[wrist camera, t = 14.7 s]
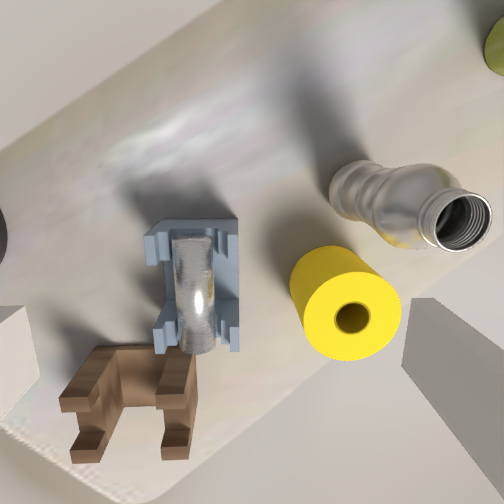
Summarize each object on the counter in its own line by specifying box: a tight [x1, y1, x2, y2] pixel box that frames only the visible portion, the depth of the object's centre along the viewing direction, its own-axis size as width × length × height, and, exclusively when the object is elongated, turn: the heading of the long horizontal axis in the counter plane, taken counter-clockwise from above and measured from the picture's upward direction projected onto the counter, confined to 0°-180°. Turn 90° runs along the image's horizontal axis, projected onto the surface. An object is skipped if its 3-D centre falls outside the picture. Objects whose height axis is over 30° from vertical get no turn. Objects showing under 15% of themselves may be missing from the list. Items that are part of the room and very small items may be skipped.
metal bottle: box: [329, 160, 492, 252], centre depth 29 cm, size 6×7×20 cm
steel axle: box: [172, 233, 216, 355], centre depth 34 cm, size 12×4×4 cm, turn 0°
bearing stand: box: [59, 344, 198, 464], centre depth 40 cm, size 9×13×10 cm
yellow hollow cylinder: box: [289, 246, 401, 361], centre depth 38 cm, size 10×10×9 cm
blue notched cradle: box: [143, 219, 239, 354], centre depth 37 cm, size 9×13×8 cm
